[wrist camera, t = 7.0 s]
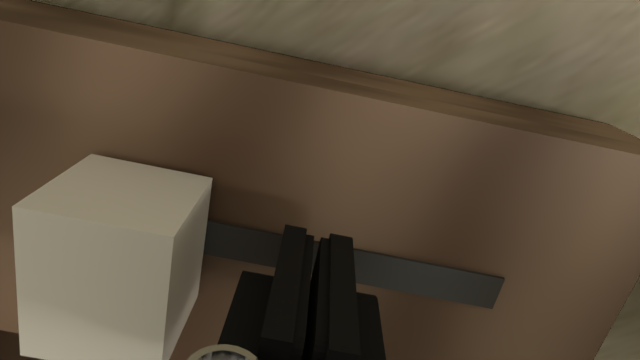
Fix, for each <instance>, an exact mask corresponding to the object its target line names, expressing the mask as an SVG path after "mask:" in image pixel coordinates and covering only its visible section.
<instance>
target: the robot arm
mask: <svg viewBox="0 0 640 360" xmlns="http://www.w3.org/2000/svg"><path fill="white" fill-rule="evenodd" d="M306 232H307V228H302V227H297V226H292V225H286V224H285V228H284V232H283V237H282V242H281V246H280V251H279V255H278V260H277V264H276V269H275V274H274V276H270V275H265V274H260V273H255V272H249V271H244V270H243V271H242V273H241V276H240V279H239V282H238V285H237V288H236V291H235V294H234V297H233V300H232V303H231V305H230V308H229V311H228V314H227V317H226V320H225V323H224V326H223V329H222V332H221V335H220V338H219V341H218V344H217V345H211V346H208V347H204V348H201V349H200V350H198V351H196V352H195V353H193V354H191V356H190V357H189V358H188V359H187V360H386V355H385V348H384V341H383V333H382V326H381V319H380V312H379V304H378V299H377V296H375V295H371V294H365V293H360V292H356V277H355V263H354V249H353V238H352V237H348V236H343V235H338V234H333V233H330V236H329V239H328V238H323V237H321V239H320V242H319V246H318V251H317V255H316V259H315V264H314V268H313V272H312V277H311V269H312V258H313V246H314V236H312V235H307V234H306Z"/></svg>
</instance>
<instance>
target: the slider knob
mask: <svg viewBox="0 0 640 360" xmlns="http://www.w3.org/2000/svg"><path fill="white" fill-rule="evenodd" d="M212 180H213V178H211V177H206V176H201V175H196V174H191V173H185V172H180V171H175V170H170V169H165V168H160V167H155V166H150V165H145V164H140V163H135V162H130V161H125V160H120V159H115V158H110V157H105V156H100V155H95V154H90V155H89V156H87V157H86V158H84V159H83V160H81V161H80V162H78V163H77V164H75V165H74V166H72V167H71V168H69V169H68V170H66V171H65V172H63V173H62V174H60V175H59V176H57V177H55V178H54V179H52V180H51V181H49V182H48V183H46V184H45V185H43V186H42V187H40V188H39V189H37V190H36V191H34V192H33V193H31V194H30V195H28V196H27V197H25V198H24V199H22V200H21V201H19V202H18V203H16V204H15V205H13V206H12V217H13V235H14V253H15V271H16V289H17V307H18V325H19V343H20V355H21V356H27V357H33V358H38V359H44V360H169V359H170V357H171V354H172V352H173V350H174V348H175V346H176V343H177V341H178V339H179V337H180V334H181V332H182V330H183V328H184V326H185V323H186V321H187V319H188V317H189V314H190V312H191V310H192V308H193V306H194V303H195V301H196V299H197V297H198V291H199V283H200V275H201V267H202V259H203V251H204V243H205V235H206V228H207V220H208V212H209V204H210V196H211V188H212Z"/></svg>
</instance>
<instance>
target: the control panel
mask: <svg viewBox="0 0 640 360" xmlns="http://www.w3.org/2000/svg"><path fill="white" fill-rule="evenodd" d="M90 154H95V155H100V156H105V157H110V158H115V159H120V160H125V161H130V162H135V163H140V164H145V165H150V166H155V167H160V168H165V169H170V170H175V171H180V172H185V173H191V174H196V175H201V176H206V177H211V178H213V180H212V188H211V196H210V204H209V212H208V220H207V228H206V235H205V243H204V251H203V259H202V267H201V275H200V283H199V291H198V297H197V299H196V301H195V303H194V306H193V308H192V310H191V312H190V314H189V317H188V319H187V321H186V323H185V326H184V328H183V330H182V332H181V334H180V337H179V339H178V341H177V343H176V346H175V348H174V350H173V352H172V354H171V357H170V359H169V360H187V359H188V358H189V357H190V356H191V354H193V353H195V352H196V351H198V350H200V349H201V348H204V347H208V346H211V345H217V344H218V341H219V338H220V335H221V332H222V329H223V326H224V323H225V320H226V317H227V314H228V311H229V308H230V305H231V303H232V300H233V297H234V294H235V291H236V288H237V285H238V282H239V279H240V276H241V273H242V271H243V270H244V271H249V272H255V273H260V274H265V275H270V276H274V274H275V269H276V264H277V260H278V255H279V251H280V246H281V242H282V237H283V232H284V228H285V224H286V225H292V226H297V227H302V228H307V232H306V234H307V235H312V236H314V246H313V258H312V269H311V277H312V272H313V268H314V264H315V259H316V255H317V251H318V246H319V242H320V239H321V237H323V238H328V239H329V236H330V233H333V234H338V235H343V236H348V237H352V238H353V249H354V263H355V277H356V292H360V293H365V294H371V295H375V296H377V299H378V304H379V312H380V319H381V326H382V333H383V341H384V348H385V355H386V360H593V359H594V357H595V356H596V354H597V352H598V350H599V348H600V347H601V345H602V343H603V341H604V339H605V338H606V336H607V334H608V332H609V330H610V329H611V327H612V325H613V323H614V321H615V320H616V318H617V316H618V314H619V312H620V311H621V309H622V307H623V305H624V303H625V302H626V300H627V298H628V296H629V294H630V293H631V291H632V289H633V287H634V285H635V284H636V282H637V280H638V278H639V276H640V139H639V138H636V137H634V136H632V135H630V134H628V133H626V132H624V131H622V130H620V129H618V128H616V127H613V126H611V125H609V124H605V123H600V122H596V121H591V120H586V119H582V118H577V117H572V116H568V115H563V114H558V113H554V112H549V111H544V110H540V109H535V108H530V107H526V106H521V105H516V104H512V103H507V102H502V101H498V100H493V99H488V98H484V97H479V96H474V95H470V94H465V93H460V92H456V91H451V90H446V89H441V88H437V87H432V86H427V85H423V84H418V83H413V82H409V81H404V80H399V79H395V78H390V77H385V76H381V75H376V74H371V73H367V72H362V71H357V70H353V69H348V68H343V67H339V66H334V65H329V64H325V63H320V62H315V61H311V60H306V59H301V58H297V57H292V56H287V55H282V54H278V53H273V52H268V51H264V50H259V49H254V48H250V47H245V46H240V45H236V44H231V43H226V42H222V41H217V40H212V39H208V38H203V37H198V36H194V35H189V34H184V33H180V32H175V31H170V30H166V29H161V28H156V27H152V26H147V25H142V24H138V23H133V22H128V21H123V20H119V19H114V18H109V17H105V16H100V15H95V14H91V13H86V12H81V11H77V10H72V9H67V8H63V7H58V6H53V5H49V4H44V3H39V2H35V1H30V0H0V360H44V359H38V358H33V357H27V356H21V355H20V343H19V325H18V307H17V289H16V271H15V253H14V235H13V217H12V206H13V205H15V204H16V203H18V202H19V201H21V200H22V199H24V198H25V197H27V196H28V195H30V194H31V193H33V192H34V191H36V190H37V189H39V188H40V187H42V186H43V185H45V184H46V183H48V182H49V181H51V180H52V179H54V178H55V177H57V176H59V175H60V174H62V173H63V172H65V171H66V170H68V169H69V168H71V167H72V166H74V165H75V164H77V163H78V162H80V161H81V160H83V159H84V158H86V157H87V156H89V155H90Z"/></svg>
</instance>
